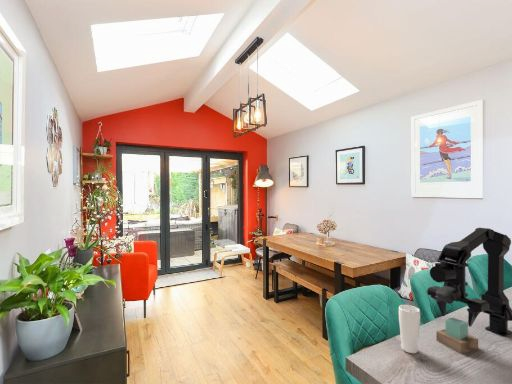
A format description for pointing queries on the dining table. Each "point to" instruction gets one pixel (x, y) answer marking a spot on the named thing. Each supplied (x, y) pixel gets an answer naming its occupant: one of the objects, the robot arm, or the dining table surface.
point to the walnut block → (457, 342)
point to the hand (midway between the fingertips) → (456, 320)
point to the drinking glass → (409, 327)
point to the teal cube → (456, 328)
